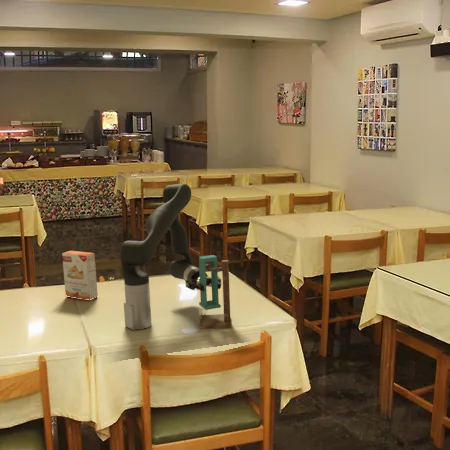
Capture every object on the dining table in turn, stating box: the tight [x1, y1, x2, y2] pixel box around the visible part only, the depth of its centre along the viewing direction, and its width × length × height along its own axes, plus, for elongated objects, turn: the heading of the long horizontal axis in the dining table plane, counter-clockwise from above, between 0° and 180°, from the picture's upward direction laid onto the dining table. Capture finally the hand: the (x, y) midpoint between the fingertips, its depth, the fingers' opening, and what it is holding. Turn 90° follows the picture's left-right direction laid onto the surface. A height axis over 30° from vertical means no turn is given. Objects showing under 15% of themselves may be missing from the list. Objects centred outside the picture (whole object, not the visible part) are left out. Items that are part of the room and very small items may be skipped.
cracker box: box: [61, 250, 99, 300], centre depth 267 cm, size 14×6×21 cm, turn 62°
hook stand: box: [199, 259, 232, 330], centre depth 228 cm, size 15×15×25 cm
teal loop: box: [198, 254, 222, 311], centre depth 229 cm, size 6×7×20 cm
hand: (211, 287), depth 227 cm, fingers closed on teal loop, 6 cm apart
